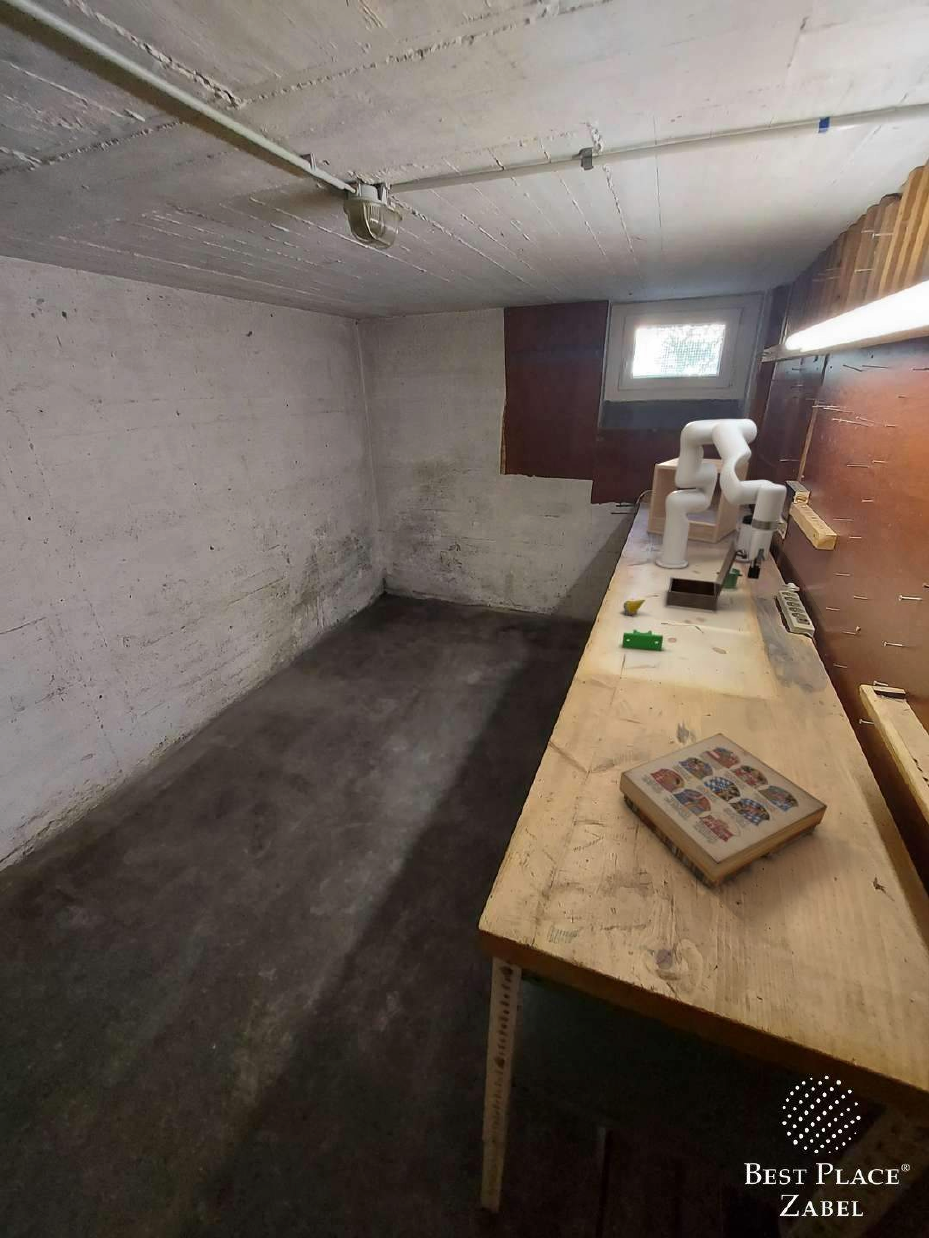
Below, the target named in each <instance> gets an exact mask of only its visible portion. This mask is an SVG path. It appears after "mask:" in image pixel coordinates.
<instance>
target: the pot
mask: <svg viewBox="0 0 929 1238" xmlns="http://www.w3.org/2000/svg"><path fill="white" fill-rule="evenodd" d="M719 572H720V571H717V572H716V575H719ZM740 577H741V578H742V577H744V574H742V573H741V571H740V569H738V568H735V567H731V570H730V572H729V574H728V577H727V579H726V581H725V584H724V586H723V588H722V589H727V590H732V589H733V590H734V589H736V588H737V585H738V579H739V578H740Z"/></svg>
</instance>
